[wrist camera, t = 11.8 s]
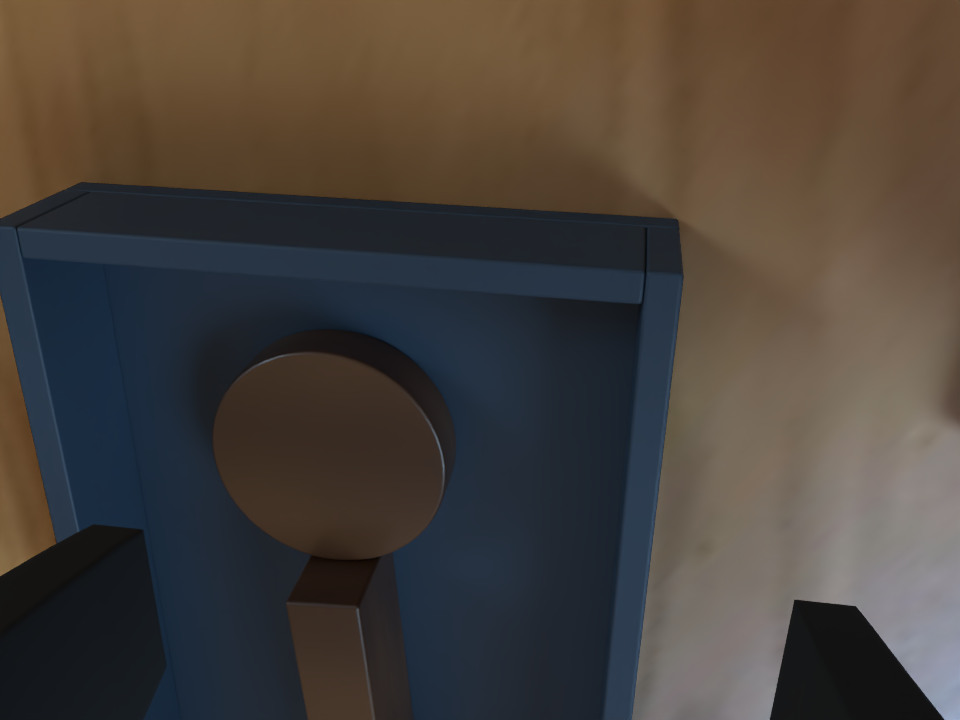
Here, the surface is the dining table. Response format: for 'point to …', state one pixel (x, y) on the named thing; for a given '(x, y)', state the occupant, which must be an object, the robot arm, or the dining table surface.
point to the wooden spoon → (339, 500)
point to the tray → (426, 341)
